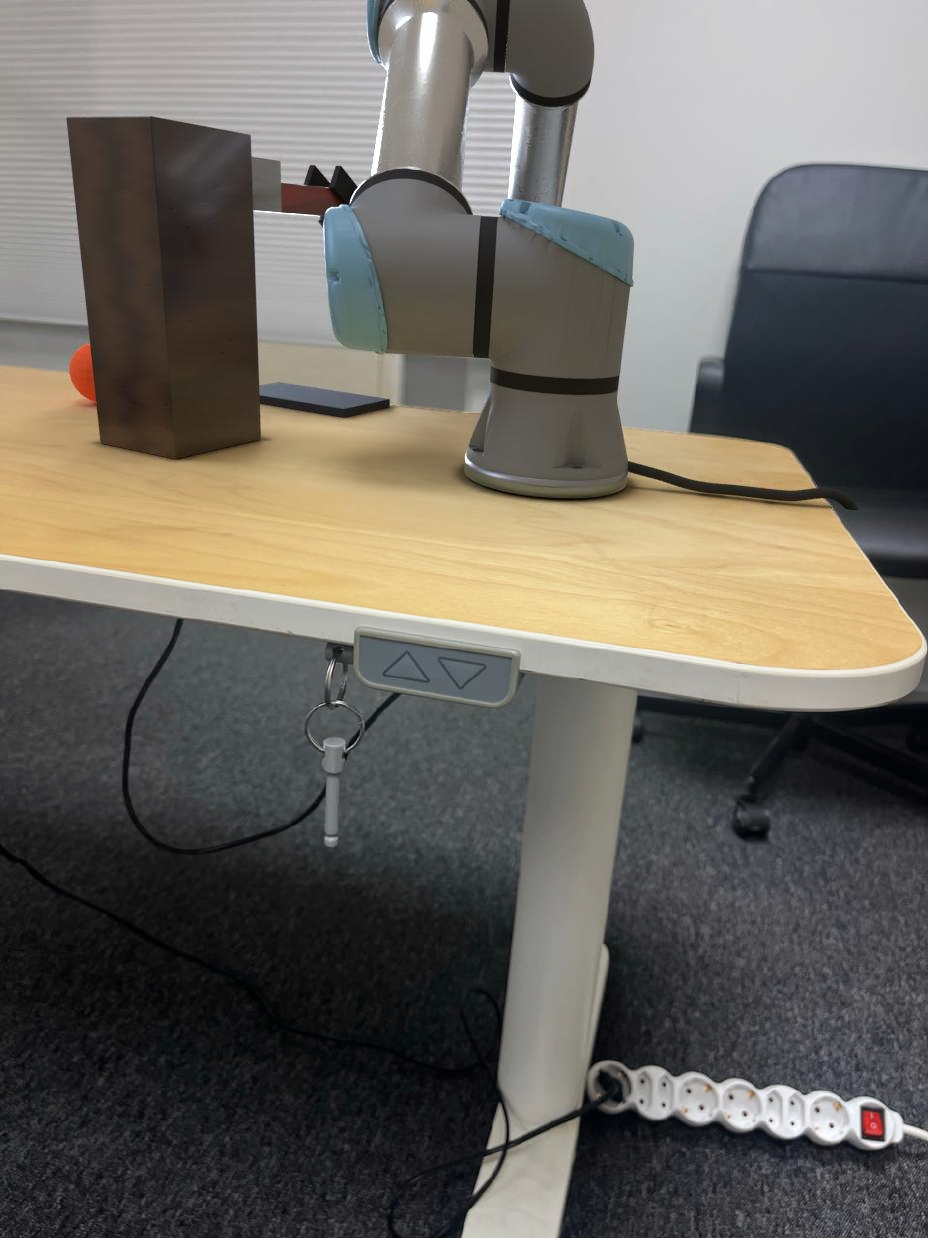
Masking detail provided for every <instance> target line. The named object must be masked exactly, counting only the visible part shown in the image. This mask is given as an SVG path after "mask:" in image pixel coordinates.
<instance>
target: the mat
mask: <svg viewBox="0 0 928 1238" xmlns="http://www.w3.org/2000/svg"><path fill="white" fill-rule="evenodd" d="M259 391H260V404H263V405H268V406H275V407H281V408H286V409H293V410H299V411H303V412H304V411H306V412H309V413H316V414H322V415H329V416H334V417H340V418H346V417H352V416H356V415H360V414H364V413H369V412H373V411H377V410H382V409H387V408H390V407H391V399H390V398H385V397H384V398H383V397H380V396H379V397H378V396H373V395H366V394H360V393H353V392H346V391H339V390H333V389H326V388H319V387H314V386H309V385H308V386H307V385H302V384H301V385H300V384H293V383H289V382H288V383H287V382H281V381H278V382H271V383H266V384H259Z"/></svg>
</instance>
